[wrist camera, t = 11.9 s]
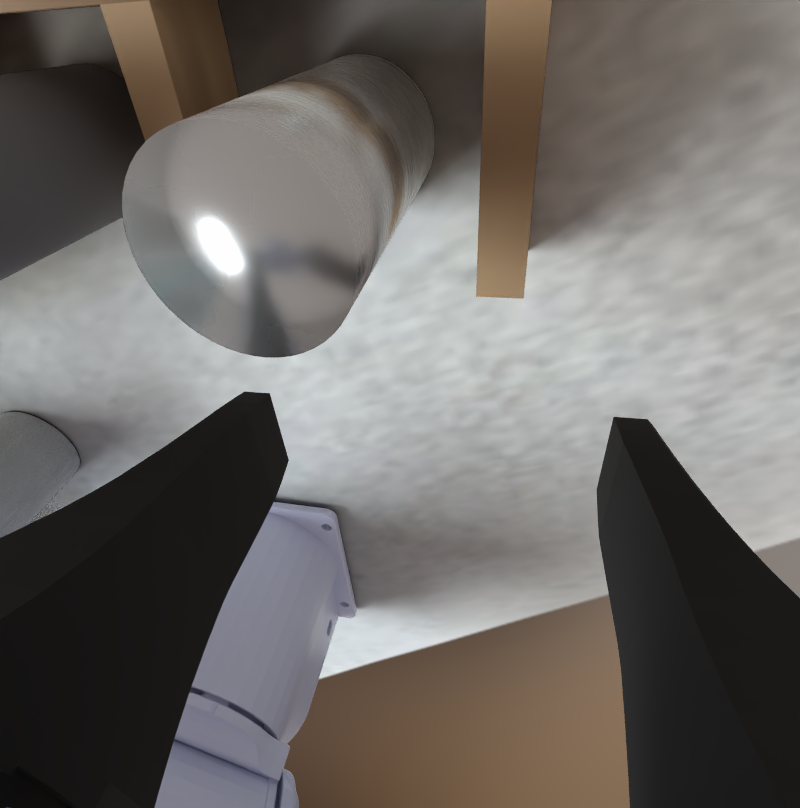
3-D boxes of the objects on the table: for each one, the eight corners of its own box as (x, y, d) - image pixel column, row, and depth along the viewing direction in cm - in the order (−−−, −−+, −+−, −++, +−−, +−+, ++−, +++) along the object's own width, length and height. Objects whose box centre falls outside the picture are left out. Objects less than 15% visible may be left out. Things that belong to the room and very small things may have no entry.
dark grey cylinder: (187, 204, 17) (-17, 321, 11) (83, 209, 18) (-160, 321, 12) (137, 56, 14) (-163, 96, 8) (20, 71, 15) (-329, 118, 9)
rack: (525, 251, 16) (522, 302, 13) (33, 240, 19) (-40, 278, 17) (560, -127, 11) (567, -158, 8) (-114, -49, 14) (-250, -54, 12)
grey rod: (444, 202, 15) (380, 351, 9) (319, 219, 16) (188, 361, 10) (421, 38, 13) (315, 93, 7) (276, 70, 14) (74, 143, 8)
